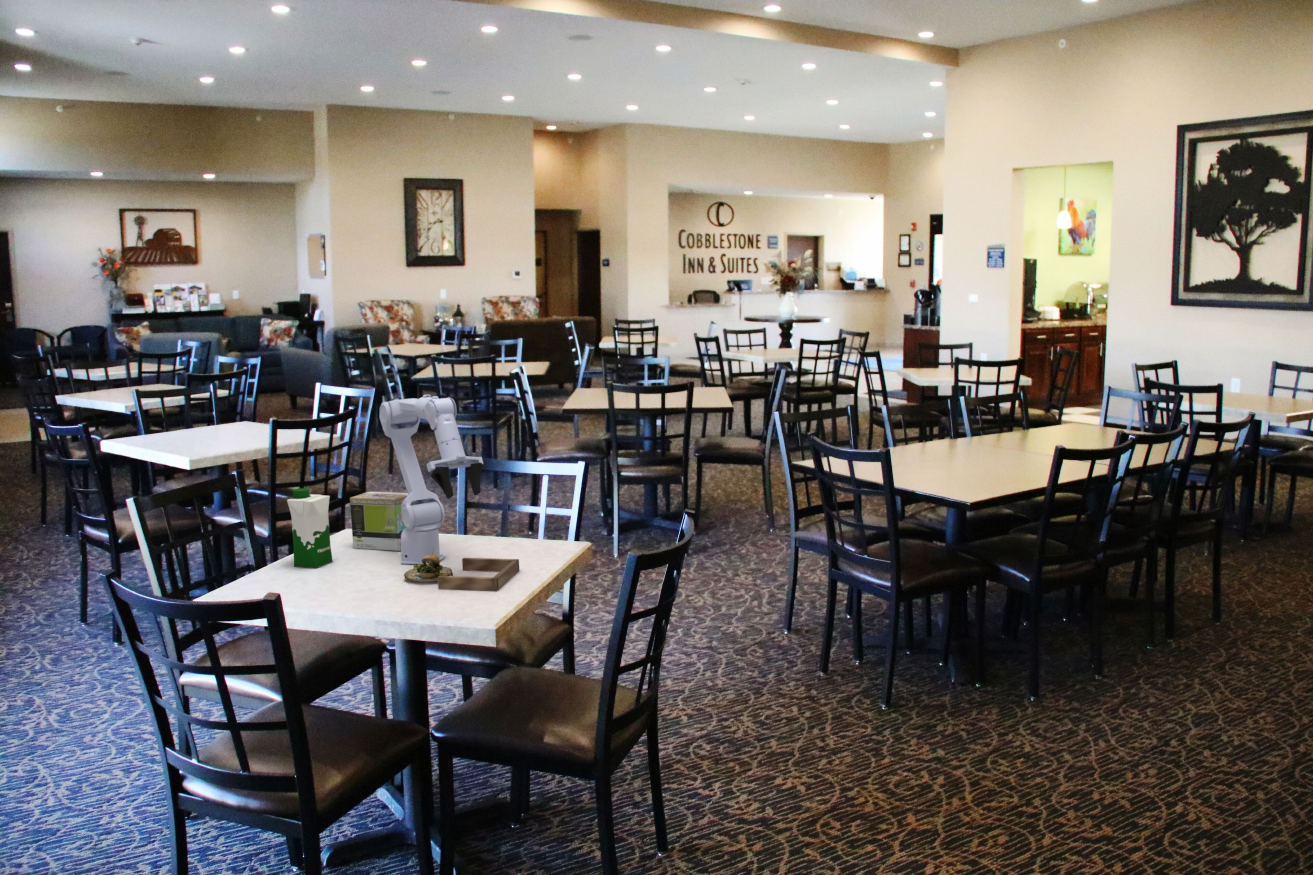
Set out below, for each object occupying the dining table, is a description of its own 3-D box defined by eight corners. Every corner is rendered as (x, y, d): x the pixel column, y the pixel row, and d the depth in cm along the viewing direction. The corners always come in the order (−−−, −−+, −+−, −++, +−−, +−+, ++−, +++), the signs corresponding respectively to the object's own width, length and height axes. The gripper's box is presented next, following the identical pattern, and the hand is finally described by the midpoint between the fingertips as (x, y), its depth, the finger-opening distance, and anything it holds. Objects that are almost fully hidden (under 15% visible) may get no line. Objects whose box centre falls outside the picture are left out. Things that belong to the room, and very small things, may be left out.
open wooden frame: (438, 589, 248) (437, 576, 248) (464, 568, 265) (463, 557, 265) (497, 591, 246) (496, 578, 245) (519, 570, 263) (518, 559, 262)
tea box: (418, 543, 293) (415, 492, 290) (398, 552, 283) (395, 499, 281) (372, 540, 298) (369, 489, 295) (351, 548, 288) (348, 496, 286)
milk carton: (309, 558, 279) (304, 485, 275) (338, 560, 276) (333, 487, 273) (288, 567, 270) (282, 492, 267) (317, 569, 267) (312, 494, 264)
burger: (395, 580, 257) (393, 551, 256) (434, 569, 266) (432, 541, 265) (423, 589, 250) (422, 559, 248) (462, 578, 258) (461, 549, 257)
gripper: (430, 439, 246) (445, 492, 243) (482, 435, 256) (497, 486, 253) (418, 450, 251) (432, 503, 248) (469, 446, 261) (483, 496, 258)
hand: (464, 495), depth 251 cm, fingers open, 7 cm apart
